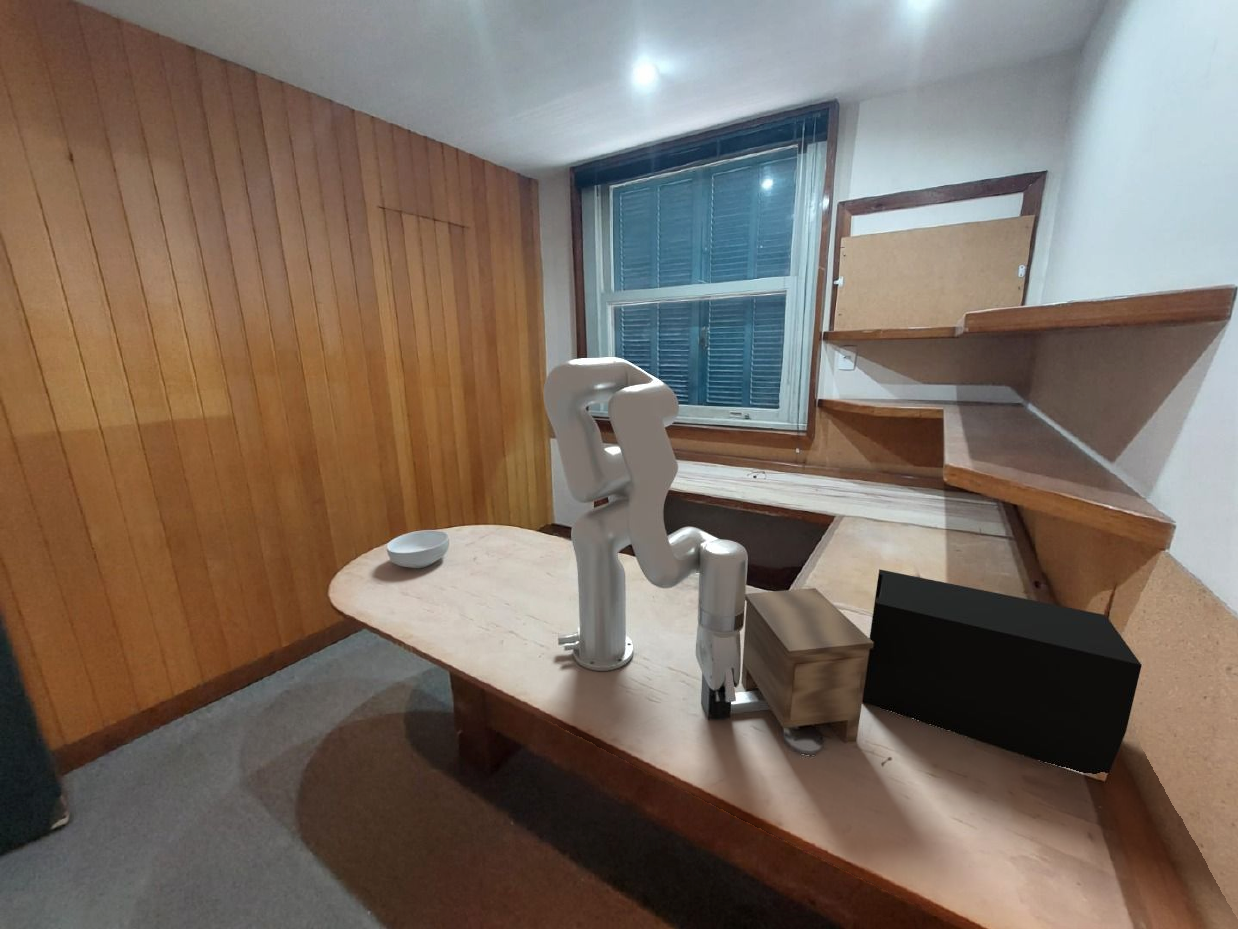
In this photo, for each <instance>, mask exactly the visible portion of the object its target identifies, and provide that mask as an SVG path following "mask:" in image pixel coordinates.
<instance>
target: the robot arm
mask: <svg viewBox="0 0 1238 929" xmlns="http://www.w3.org/2000/svg"><path fill="white" fill-rule="evenodd" d="M542 394H543V395H542V396H543V398H542V399H543V405H544V409H545V412H546V414H547V417H548V420H549V422H550V424H551V427H552V430H553V433H554V435H555V439H556V442H557V448H558V451H559V452H558V453H559V455H560V457H559V458H560V461H561V465H562V469H563V472H564V473H563V474H564V477H565V481H566V485H567V489H568V491H569V494H570V495H571V497H572V498H573V499H574V500H575V501H576V502H578V503H580V504H581V503H582V504H590V503H593V502H596V501H597V502H598V501H601V500H602V499H605V498H607V499H608V502H607V503H604V504H601V505H599V506H596V507H593V508H590V509H588V510H587V511H585V512H583V513H582V514H581V515H580V516H579V517H577V518H576V520H575V521H574V523H573V524H572V527H571V531H570V535H571V536H570V537H571V543H572V547H573V551H574V555H575V560H576V561H575V562H576V568H577V570H576V571H577V586H578V588H577V589H578V618H579V626H578V627H577V631H576V632H575V631H574V632H572V634H561V635H560V634H559V635H557V640H558V641H557V642H558V643H557V644H558V646H562V645H563V647H564V649H563V650H564V651H566V652H567V651H571V650H572V654H573V658H574V660H575V661H576V662H577V664H579V665H580V666H582V667H584V668H585V669H587V670H588V669H589V670H591V671H598V672H599V671H600V672H601V671H602V672H604V671H606V672H607V671H613V670H616V669H618V668H621V667H623V666H624V665H626V664H628V662H630V661H631V659H632V657H633V655H634V643H633V641H632V640H631V638H630V637H629V636H628V635H627V630H626V629H627V626H626V625H627V624H626V622H627V621H626V620H627V616H626V615H627V614H626V613H627V612H626V605H627V604H626V599H627V597H626V588H627V587H626V572H625V568H624V566H623V563H621V561H620V557H619V552H620V551H621V550H624V549H625V548H626V547H628V546H630V545H631V546H632V550H633V552H634V555H635V558H636V561H637V563H638V566H639V568H640V570H641V572H642V575H643V576H644V577H645V578H646V580H648V582H649V583H650V584H652V585H653V586H655V587H656V588H659V589H672V588H674V587H676V586H678V585H679V584H681V583H682V582H684V581H685V580H686V579H688V578H689V577H690V576H691V575H695V574H697V573H698V600H697V603H698V605H697V628H696V640H695V657H696V660H697V663H698V664H697V665H699V667H700V670H701V674H702V673H703V675H704V677H705V679H706V681H707V684H708V685H709V687H710V688H711V689H712V690H714V697H712V712H711V716H712V718H713V719H712V720H720V719H727V718H728V717H729V718H731V715H732V714H731V702H735V701H736V696H735V693H736V691H735V690H736V689H735V688H738V686H739V684H740V682H741V669H742V668H741V667H742V666H741V665H742V663H741V662H742V659H741V658H742V657H741V655H742V654H741V650H742V648H741V631H742V629H743V628H744V627H745V621H744V620H745V611H746V600H745V594H747V591H746V590H747V578H748V577H747V575H748V561H749V560H748V556H749V555H748V552H747V550H746V548H745V546H743V545H742V544H741V543H739V542H736V541H734V540H730V539H721V538H718V537H717V536H714V535H712V534H710V533H708V532H707V531H704V530H703V529H700V528H698V527H694V526H684V527H681V528H679V529H678V530H676V531H674V532H672V533H671V534H668V533H667V530H666V527H665V520H664V505H665V501H666V497H667V495H668V492H669V490H670V489H671V486H672V484H673V483H674V481H675V479H676V476H677V475H678V472H679V464H678V461H677V459H676V456H675V453H674V450H673V447H672V445H671V441H670V438H669V435H668V433H667V430H666V428H667V427H669V426H671V425H673V423H675V421H676V419H677V417H678V416H679V412H680V411H679V410H680V406H679V401H678V398H677V396H676V394H675V392H674V390H672V388H671V387H670V386H669V385H668V384H666V383H665V382H663V381H662V380H660V379H659V378H657V377H655V376H653V375H652V374H650V373H648V372H646V371H645V370H643V369H642V368H640V367H639V366H637V365H635V364H633V363H632V362H630V361H628V360H625V359H623V358H620V357H614V356H613V357H611V356H610V357H586V358H575V359H574V358H573V359H569V360H566V361H563V362H561V363H559V364H557V365H556V366H554V367H553V368H552V369H551V371H550V372H549V373H548V375H547V377H546V379H545V381H544V385H543V393H542ZM606 403H608V404H607V414H608V419H609V421H610V424H611V428H612V430H613V432H614V433H613V434H614V435H615V438H616V441H617V444H618V446H608V447H605V446H604V443H603V439H602V435H601V434H602V432H601V430H600V427H599V425H598V423H597V421H596V420H595V419H594V417H593V416H592V415H591V413H590V412H589V411H588V410H587V409H586V408H587V407H589V406H591V405H600V404H606ZM720 687H725V692H721V693H719V688H720ZM730 714H731V715H730ZM719 718H720V719H719ZM729 718H728V719H729Z"/></svg>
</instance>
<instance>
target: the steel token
mask: <svg viewBox="0 0 1238 929" xmlns="http://www.w3.org/2000/svg"><path fill="white" fill-rule="evenodd" d="M782 739H783V742H784V743H785V746H787V747H788V748H789V749H790V748H791V749H793V750H792V751H793V752H794V751H795V752H794V753H796V752H797V753H796V754H797V755H800V754H804V755H809V756H808V757H813V756H812V755H815V756H817V755H819V754H820V753H822V750H823V746H824V735H823V733H822V732H821V731H820V730H819V728H818V727H816V726H815V724H811V725H803V726H795V727H787V728H783V732H782ZM791 749H790V750H791Z"/></svg>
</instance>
